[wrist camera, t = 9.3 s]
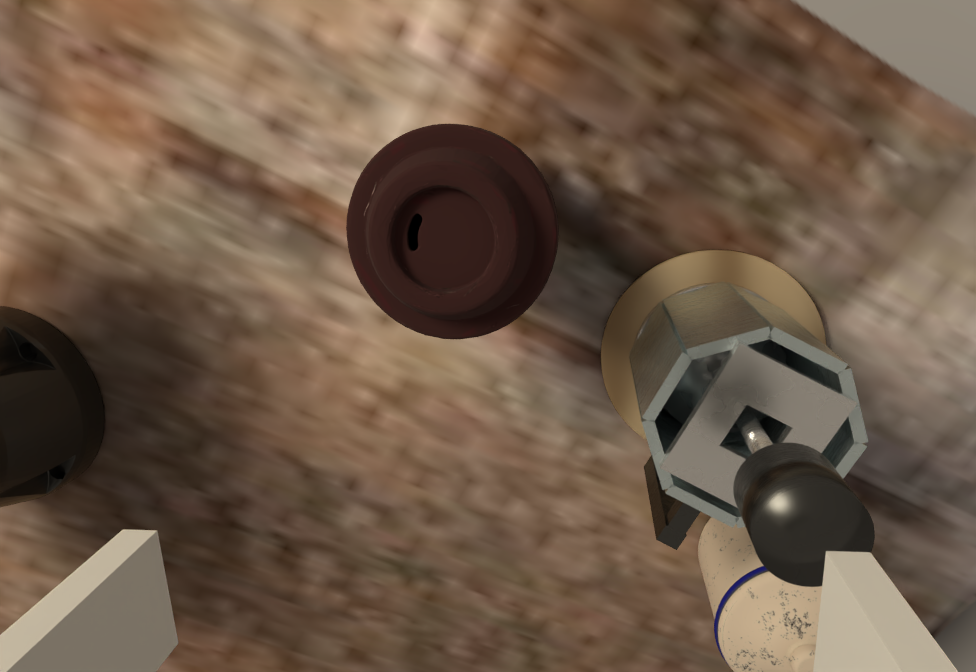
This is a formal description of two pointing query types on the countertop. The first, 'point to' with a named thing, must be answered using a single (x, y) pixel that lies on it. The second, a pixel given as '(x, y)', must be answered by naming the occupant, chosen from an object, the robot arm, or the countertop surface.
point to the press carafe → (733, 399)
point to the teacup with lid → (756, 606)
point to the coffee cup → (452, 231)
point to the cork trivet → (677, 277)
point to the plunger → (783, 488)
